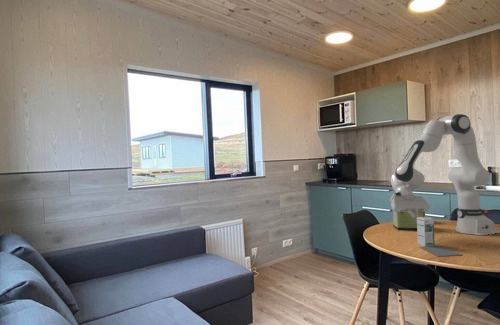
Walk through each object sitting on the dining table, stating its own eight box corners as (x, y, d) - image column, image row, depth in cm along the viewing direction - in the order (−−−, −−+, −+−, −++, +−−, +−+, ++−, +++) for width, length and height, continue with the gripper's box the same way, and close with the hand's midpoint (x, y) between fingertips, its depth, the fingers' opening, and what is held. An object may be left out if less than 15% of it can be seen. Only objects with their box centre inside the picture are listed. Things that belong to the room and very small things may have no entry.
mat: (441, 246, 164) (441, 245, 164) (462, 255, 149) (462, 254, 149) (419, 247, 163) (419, 246, 163) (438, 256, 148) (437, 256, 148)
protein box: (423, 230, 198) (423, 205, 198) (397, 230, 201) (396, 205, 201) (418, 226, 209) (417, 203, 208) (392, 226, 211) (392, 203, 211)
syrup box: (425, 246, 164) (424, 218, 164) (417, 243, 170) (416, 216, 170) (434, 245, 165) (434, 218, 165) (426, 242, 171) (426, 216, 171)
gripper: (420, 199, 187) (431, 219, 177) (387, 200, 186) (395, 220, 176) (425, 193, 183) (436, 213, 173) (390, 193, 181) (399, 213, 172)
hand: (415, 216), depth 175 cm, fingers closed
